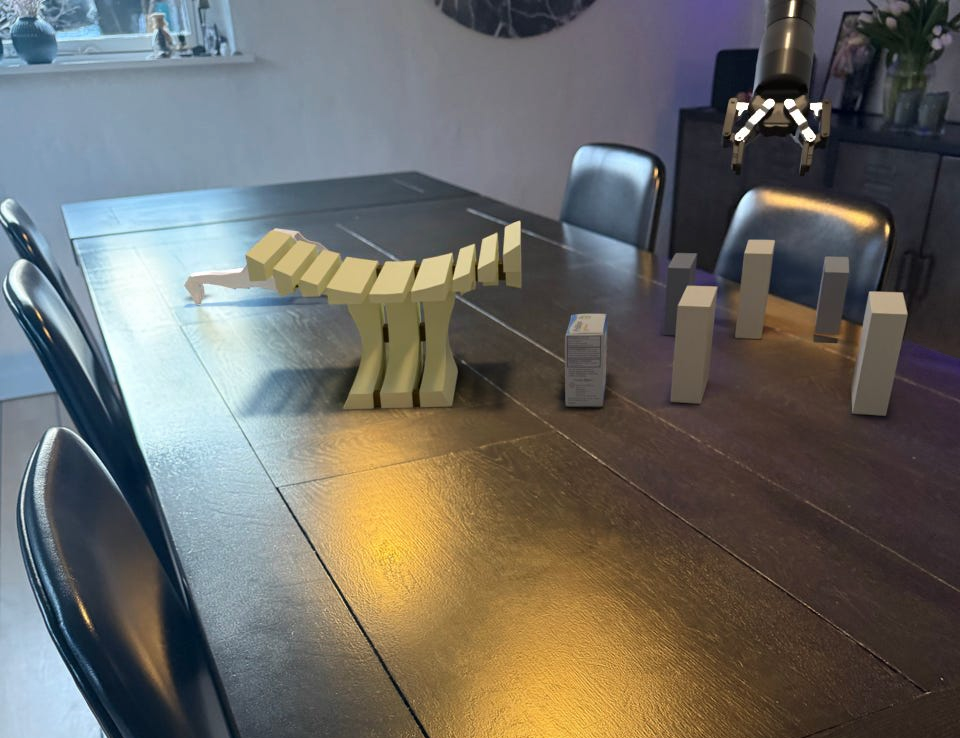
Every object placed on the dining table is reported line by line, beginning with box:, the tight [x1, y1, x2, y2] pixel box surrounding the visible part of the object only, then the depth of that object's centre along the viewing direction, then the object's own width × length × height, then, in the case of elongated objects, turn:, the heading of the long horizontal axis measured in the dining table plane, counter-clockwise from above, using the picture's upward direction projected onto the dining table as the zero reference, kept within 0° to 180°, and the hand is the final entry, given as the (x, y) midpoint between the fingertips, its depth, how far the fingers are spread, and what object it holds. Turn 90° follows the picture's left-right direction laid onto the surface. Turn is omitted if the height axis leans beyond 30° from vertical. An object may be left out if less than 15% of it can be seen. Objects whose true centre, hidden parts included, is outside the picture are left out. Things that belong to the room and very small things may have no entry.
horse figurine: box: [183, 227, 344, 306], centre depth 150 cm, size 5×16×25 cm
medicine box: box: [564, 313, 608, 408], centre depth 108 cm, size 8×4×9 cm, turn 171°
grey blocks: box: [662, 252, 850, 344], centre depth 127 cm, size 23×8×9 cm, turn 73°
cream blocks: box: [670, 285, 909, 417], centre depth 105 cm, size 24×8×11 cm, turn 73°
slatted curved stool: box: [245, 220, 523, 410], centre depth 112 cm, size 30×16×18 cm, turn 88°
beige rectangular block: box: [734, 239, 776, 340], centre depth 126 cm, size 4×8×11 cm, turn 163°
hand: (770, 172), depth 127 cm, fingers open, 8 cm apart
